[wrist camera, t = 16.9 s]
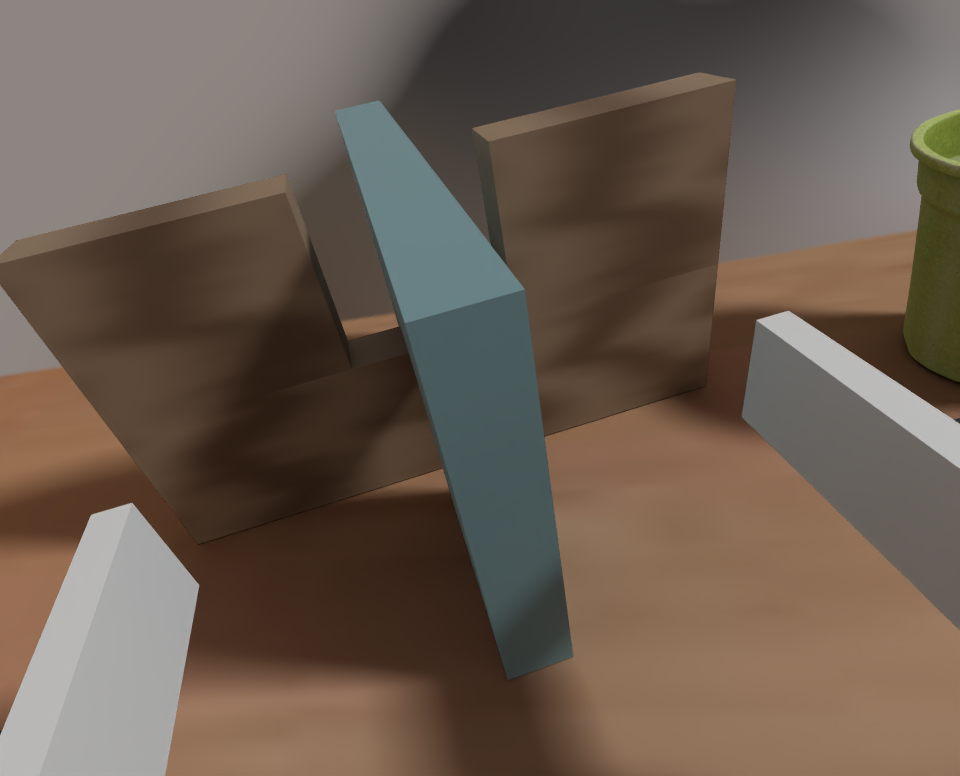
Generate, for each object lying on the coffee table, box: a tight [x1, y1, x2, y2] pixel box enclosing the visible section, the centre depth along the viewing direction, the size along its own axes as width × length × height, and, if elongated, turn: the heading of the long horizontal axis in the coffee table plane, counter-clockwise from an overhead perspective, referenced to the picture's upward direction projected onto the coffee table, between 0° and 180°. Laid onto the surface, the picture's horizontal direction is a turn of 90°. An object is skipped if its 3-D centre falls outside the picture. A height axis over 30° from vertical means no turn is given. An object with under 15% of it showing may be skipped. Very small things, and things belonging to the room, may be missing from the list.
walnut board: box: [0, 73, 736, 544], centre depth 21 cm, size 22×2×12 cm, turn 105°
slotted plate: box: [335, 101, 573, 680], centre depth 20 cm, size 2×20×12 cm, turn 15°
